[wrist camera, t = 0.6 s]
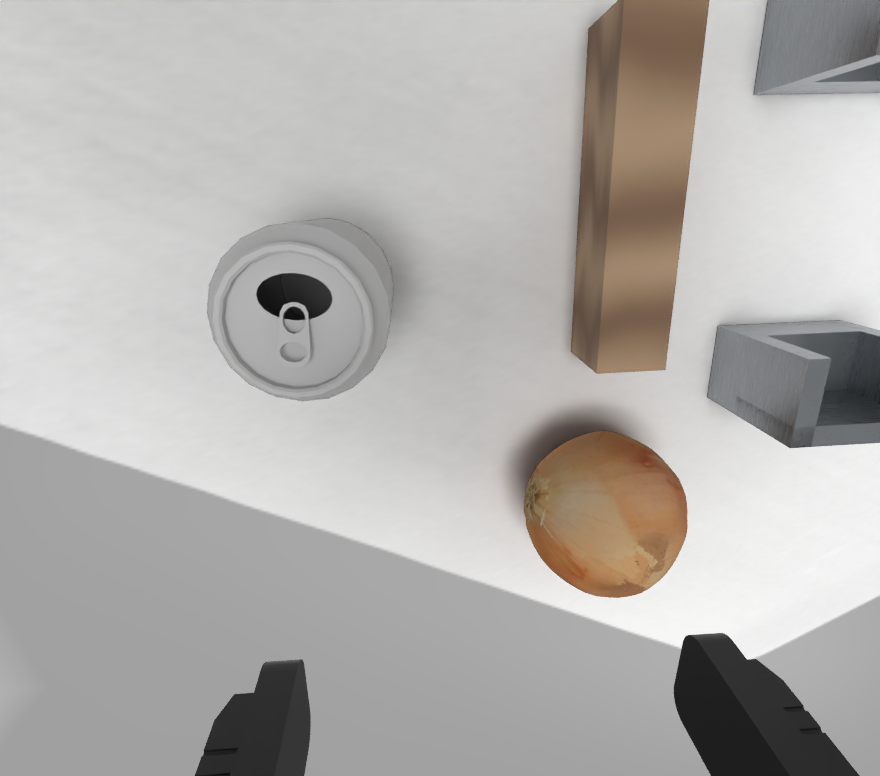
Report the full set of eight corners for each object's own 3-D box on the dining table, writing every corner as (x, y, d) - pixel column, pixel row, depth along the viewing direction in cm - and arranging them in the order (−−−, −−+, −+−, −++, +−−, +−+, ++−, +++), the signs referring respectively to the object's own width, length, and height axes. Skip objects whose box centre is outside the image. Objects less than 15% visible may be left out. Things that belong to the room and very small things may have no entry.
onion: (516, 407, 35) (559, 481, 25) (657, 412, 36) (749, 485, 26) (501, 530, 38) (534, 636, 28) (631, 531, 39) (705, 635, 29)
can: (395, 222, 30) (392, 230, 19) (391, 345, 33) (387, 418, 21) (264, 213, 30) (180, 217, 18) (270, 340, 32) (199, 413, 21)
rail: (587, 30, 28) (624, -6, 23) (658, 29, 28) (710, -7, 23) (569, 350, 34) (596, 373, 29) (628, 347, 34) (665, 370, 29)
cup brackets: (769, -11, 28) (907, -93, 20) (916, -12, 28) (1105, -92, 21) (707, 397, 35) (790, 447, 28) (823, 390, 36) (935, 439, 28)
